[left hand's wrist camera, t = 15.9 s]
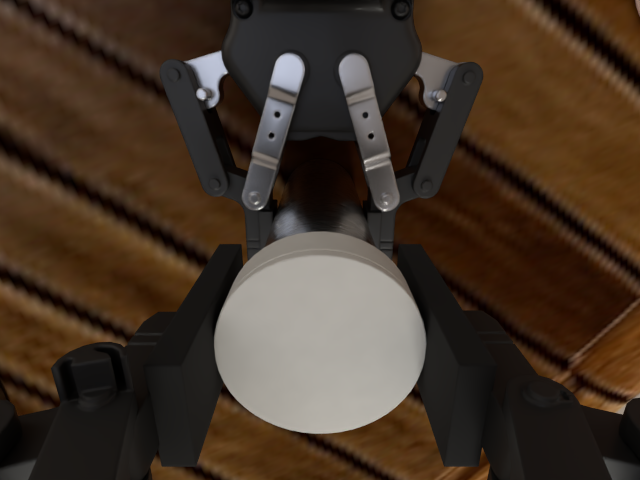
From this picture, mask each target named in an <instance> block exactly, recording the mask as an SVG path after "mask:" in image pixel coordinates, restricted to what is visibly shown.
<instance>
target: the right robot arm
mask: <svg viewBox="0 0 640 480" xmlns="http://www.w3.org/2000/svg"><path fill="white" fill-rule="evenodd" d="M230 1H231V19H230V24H229V28H228V31H227V33H226V36H225V38H224V40H223V43H222V48H221V51H218V52H215V53H212V54H208V55H205V56H202V57H199V58H196V59H192V60H189V61H180V60H175V59H170V60H167V61H165V62H164V63H163V64H162V66H161V68H160V78H161V81H162V84H163V86H164V89H165V91H166V94H167V97H168V99H169V102H170V104H171V107H172V110H173V112H174V115H175V117H176V120H177V122H178V125H179V128H180V130H181V133H182V135H183V138H184V141H185V143H186V146H187V148H188V151H189V154H190V156H191V159H192V161H193V164H194V167H195V169H196V172H197V174H198V177H199V179H200V182H201V185H202V187H203V189H204V191H205V192H206V193H207V194H209V195H211V196H215V197H218V196H224V197H227V198H229V199H232V200H235V201H237V202H238V203H239V204H240V205H241V206H242V207H243V209H244V212H245V224H246V240H247V256H248V261H249V260H250V259H251V258H252V257H253V256H254V255H255V254H256V253H258V252H259V251H260V250H262V249H263V248H264V247H265V244H266V241H267V238H268V235H269V232H270V229H271V226H272V224H273V221H274V218H275V215H276V212H277V200H273V188H274V185H275V181H276V178H277V175H278V171H279V168H280V164H281V161H282V158H283V155H284V152H285V149H286V145H287V142H288V140H302V141H303V140H307V139H311V138H315V137H318V136H324V137H328V138H331V139H335V140H338V141H354V143H355V146H356V150H357V153H358V156H359V159H360V162H361V166H362V169H363V173H364V176H365V180H366V183H367V187H368V199H367V201H363V212H364V215H365V217H366V220H367V223H368V226H369V229H370V232H371V235H372V238H373V240H374V243H375V246H376V248H377V249H379V250H380V251H381V252H383V253H384V254H385V255H386V256H387V257H388V258H389V259H390V260H391V261H392V252H393V250H392V249H393V238H394V225H395V214H396V211H397V209H398V207H399V206H400V205H401V204H403V203H404V202H406V201H409V200H412V199H415V198H418V197H421V198H430V197H433V196H434V195H435V194H436V193H437V192H438V190H439V188H440V185H441V183H442V180H443V178H444V175H445V173H446V170H447V168H448V165H449V163H450V160H451V158H452V155H453V153H454V150H455V148H456V145H457V143H458V140H459V138H460V135H461V133H462V130H463V128H464V125H465V123H466V120H467V118H468V115H469V113H470V110H471V108H472V105H473V103H474V100H475V98H476V95H477V93H478V90H479V88H480V85H481V83H482V80H483V71H482V69H481V67H480V66H479V65H478V64H476V63H474V62H462V63H455V62H452V61H449V60H446V59H443V58H440V57H437V56H433V55H430V54H427V53H424V52H422V46H421V42H420V40H419V38H418V35H417V33H416V30H415V26H414V21H413V5H414V0H230ZM228 75H230V76H231V77H232V78H233V80H234V81H235V82H236V84H237V85H238V86H239V88H240V89H241V91H242V92H243V93H244V95H245V96H246V97H247V99H248V100H249V101H250V103H251V104H252V105H253V107H254V108H255V110H256V111H257V112H258V114H259V115H260V116H261V121H260V125H259V129H258V132H257V136H256V140H255V144H254V147H253V151H252V159H251V163H250V167H249V171H246V170H243V169H240V168H237V167H236V165H235V162H234V159H233V156H232V153H231V150H230V148H229V145H228V142H227V139H226V136H225V133H224V130H223V127H222V125H221V122H220V119H219V116H218V113H217V110H216V107H217V106H219V105H220V104H221V103H222V101H223V99H224V91H223V83H224V80H225V79H226V77H227V76H228ZM413 76H414V77H416V78H417V80H418V82H419V85H420V91H419V101H420V103H421V105H422V106H424V107H425V108H427V110H426V113H425V115H424V118H423V121H422V124H421V126H420V129H419V132H418V135H417V137H416V140H415V143H414V146H413V148H412V151H411V154H410V157H409V159H408V162H407V165H406V168H404V169H401V170H398V171H396V172H394V171H393V168H392V164H391V155H390V150H389V146H388V142H387V139H386V135H385V131H384V127H383V123H382V119H381V118H382V117H383V115H384V114H385V113H386V111H387V110H388V109H389V107H390V106H391V105H392V103H393V102H394V101H395V99H396V98H397V97H398V95H399V94H400V93H401V91H402V90H403V89H404V87H405V86H406V85H407V84H408V82H409V81H410V80H411V78H412V77H413Z"/></svg>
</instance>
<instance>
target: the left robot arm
mask: <svg viewBox="0 0 640 480" xmlns="http://www.w3.org/2000/svg"><path fill="white" fill-rule="evenodd" d="M242 268H243V260H242V246H241V244H220V245H219V246H218V248H217V249H216V251H215V253H214V254H213V256H212V257H211V259H210V260H209V262H208V264H207V265H206V267H205V268H204V270H203V271H202V273H201V275H200V276H199V278H198V279H197V281H196V282H195V284H194V286H193V287H192V289H191V290H190V292H189V293H188V295H187V297H186V298H185V300H184V301H183V303H182V304H181V306H180V307H179V309H178V311H177V312H158V313H156V314H155V315H153V316H152V317H150V318H149V319H147V320H146V321H144V322H143V323H142V325H141V326H140V327H139V329H138V330H137V331H136V333H135V336H133V337H132V338H131V339H130V341H129V342H128V345H126V346H125V347H123V346H122V345H121V344H117V343H113V342H99V343H94V344H89V345H85V346H82V347H80V348H77V349H75V350H73V351H70V352H69V353H67V354H66V355H64V356H63V357H61V358H60V359H58V360H57V362H56V363H55V364H54V365H53V366H52V368H51V370H52V374H53V377H54V380H55V384H56V387H57V391H58V394H59V398H60V401H61V404H60V406H59V407H56V408H53V409H49V410H44V411H40V412H35V413H31V414H26V415H22V416H18V415H17V412H16V410H15V407H14V405H13V404H12V403H10V402H9V401H8V400H7V399H6V397H5V395H4V393H3V391H2V389H1V387H0V480H152V474H151V469H150V466H151V463H152V461H153V459H154V457H155V454H156V452H157V450H158V449H159V454H160V459H161V465H162V466H196V465H197V462H198V459H199V456H200V453H201V450H202V446H203V443H204V440H205V437H206V434H207V431H208V428H209V425H210V422H211V419H212V416H213V413H214V410H215V407H216V404H217V401H218V398H219V394H220V391H221V388H222V385H223V380H222V377H221V375H220V373H219V371H218V367H217V364H216V359H215V350H214V333H215V328H216V323H217V320H218V317H219V315H220V312H221V310H222V307H223V305H224V303H225V301H226V298H227V296H228V294H229V292H230V289H231V287H232V285H233V283H234V281H235V279H236V277H237V275H238V273H239V272H240V271H241V269H242ZM397 268H398V269H399V270H400V271H401V273H402V275H403V277H404V278H405V280H406V282H407V284H408V287H409V289H410V291H411V293H412V296H413V298H414V300H415V302H416V305H417V307H418V309H419V312H420V314H421V317H422V319H423V322H424V327H425V331H426V352H425V361H424V365H423V368H422V371H421V373H420V376H419V378H418V380H417V385H418V388H419V391H420V394H421V397H422V400H423V403H424V406H425V409H426V412H427V415H428V418H429V421H430V424H431V427H432V430H433V433H434V437H435V440H436V443H437V446H438V449H439V452H440V455H441V458H442V461H443V464H444V466H479V461H480V455H481V450H482V447H483V450H484V452H485V454H486V456H487V458H488V461H489V463H490V469H489V474H488V479H487V480H640V398H635V399H632V400H631V401H630V402H628V403H627V405H626V408H625V411H624V414H623V415H622V414H617V413H613V412H608V411H604V410H599V409H595V408H590V407H587V406H583V405H580V403H579V402H578V400H577V399H576V397H575V396H574V394H573V393H572V392H570V391H569V390H568V389H567V388H565V387H564V386H563V385H561V384H559V383H557V382H555V381H553V380H551V379H549V378H546V377H542V376H538V374H537V373H536V372H535V370H534V369H533V368H532V366H531V365H530V364H529V362H528V361H527V360H526V359H525V357H524V356H523V355H522V353H521V352H520V351H519V349H518V348H517V347H516V345H515V344H513V341H512V340H511V339H510V337H509V336H508V335H507V334H506V333H505V331H504V329H503V328H502V327H501V325H500V324H499V323H498V321H497V320H495V319H494V318H492V317H491V316H489V315H488V314H486V313H485V312H483V311H463V310H462V309H461V307H460V305H459V304H458V302H457V301H456V299H455V298H454V296H453V295H452V293H451V291H450V290H449V288H448V287H447V285H446V284H445V282H444V280H443V279H442V277H441V276H440V274H439V273H438V271H437V269H436V268H435V266H434V265H433V263H432V262H431V260H430V258H429V257H428V255H427V254H426V252H425V251H424V249H423V247H422V246H421V244H399V250H398V263H397Z"/></svg>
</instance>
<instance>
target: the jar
mask: <svg viewBox="0 0 640 480" xmlns="http://www.w3.org/2000/svg"><path fill="white" fill-rule="evenodd" d="M306 232H334V233H341V234H345V235H349V236H352V237H355V238H358V239H360V240H363V241H365V242H367V243H369V244H371V245H372V246H374V247H376V246H375V243H374V240H373V238H372V235H371V232H370V229H369V226H368V223H367V220H366V217H365V215H364V212H363V209H362V206H361V203H360V200H359V197H358V195H357V192H356V189H355V186H354V183H353V181H352V178H351V176H350V175H349V173H348V172H347V171H346V170H345V169H344V168H343V167H342V166H341V165H339V164H337V163H336V162H333V161H330V160H326V159H314V160H310V161H307V162H305V163H303V164H301V165H299V166H298V167H297V168H296V169H295V170H294V171H293V172H292V173H291V175H290V176H289V178H288V181H287V183H286V186H285V189H284V192H283V195H282V198H281V200H280V203H279V206H278V209H277V212H276V215H275V218H274V221H273V224H272V226H271V229H270V232H269V235H268V238H267V241H266V244H265V247H266V246H268V245H270V244H271V243H273V242H275V241H278V240H280V239H282V238H285V237H288V236H292V235H295V234H299V233H306Z"/></svg>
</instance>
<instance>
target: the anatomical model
mask: <svg viewBox="0 0 640 480" xmlns="http://www.w3.org/2000/svg"><path fill="white" fill-rule="evenodd" d="M635 3H636V7H637V10H638V13H639V16H640V0H635Z"/></svg>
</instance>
